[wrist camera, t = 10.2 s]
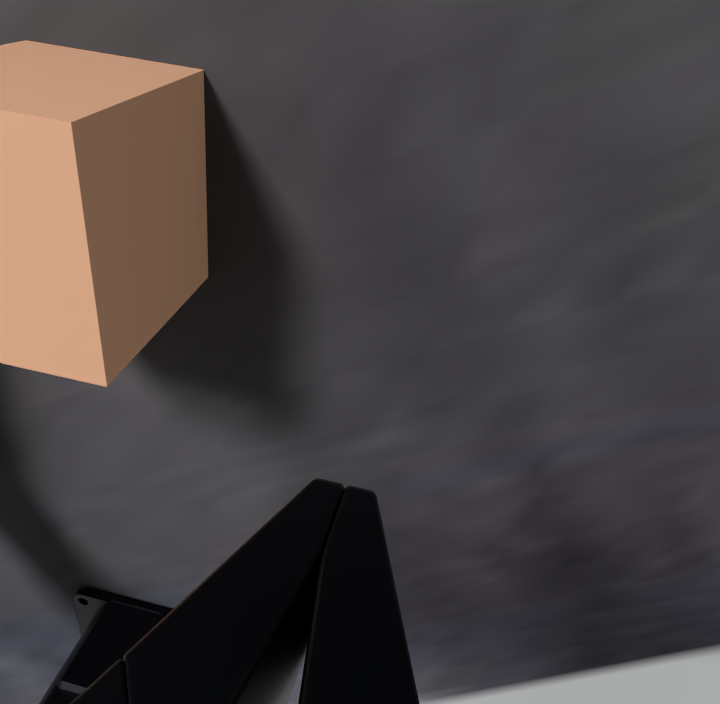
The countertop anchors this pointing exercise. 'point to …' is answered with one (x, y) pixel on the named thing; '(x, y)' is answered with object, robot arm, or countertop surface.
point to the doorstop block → (96, 205)
